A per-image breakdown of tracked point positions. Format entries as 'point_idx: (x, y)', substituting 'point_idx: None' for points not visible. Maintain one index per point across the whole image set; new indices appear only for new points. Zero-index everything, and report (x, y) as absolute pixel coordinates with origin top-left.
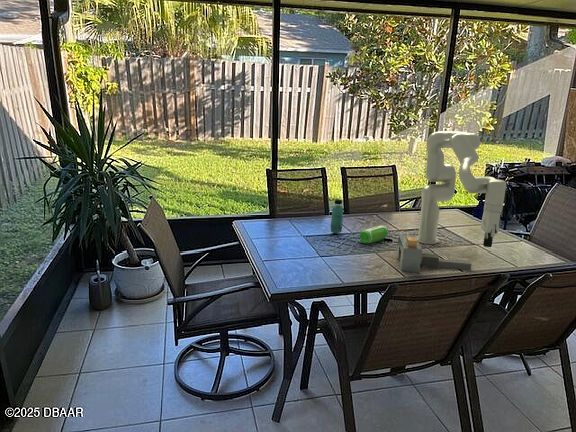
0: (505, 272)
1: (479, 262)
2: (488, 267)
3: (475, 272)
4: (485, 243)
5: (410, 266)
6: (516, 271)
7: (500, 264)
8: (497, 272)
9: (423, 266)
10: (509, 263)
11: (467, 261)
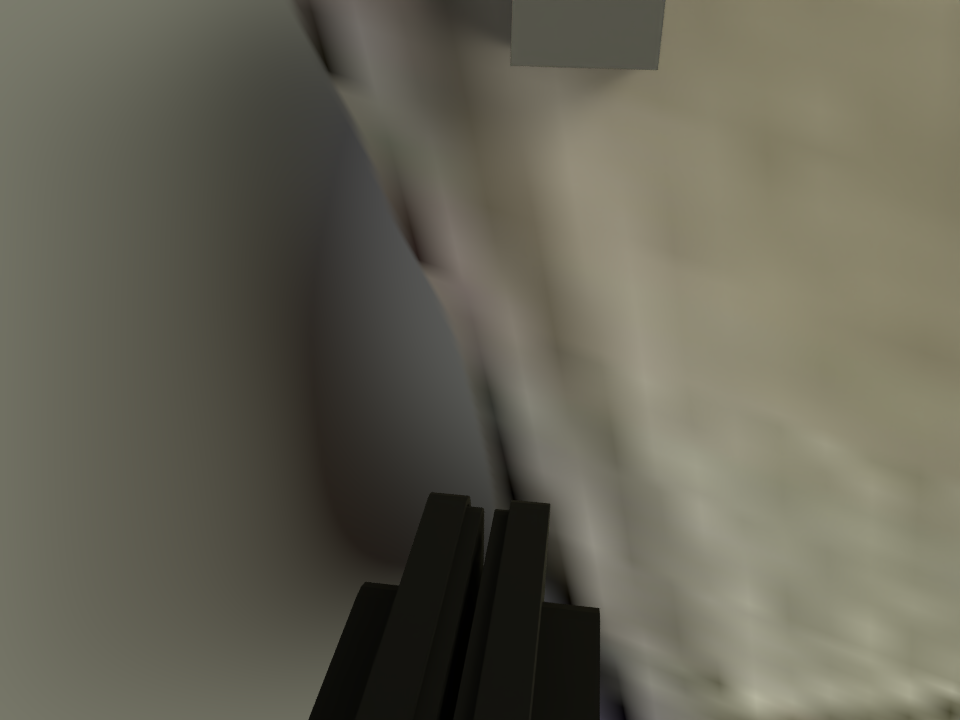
0: None
1: (920, 340)
2: (684, 399)
3: (417, 105)
4: (403, 588)
5: None
6: None
7: (823, 602)
8: (497, 447)
9: None
10: (864, 714)
11: (651, 6)
